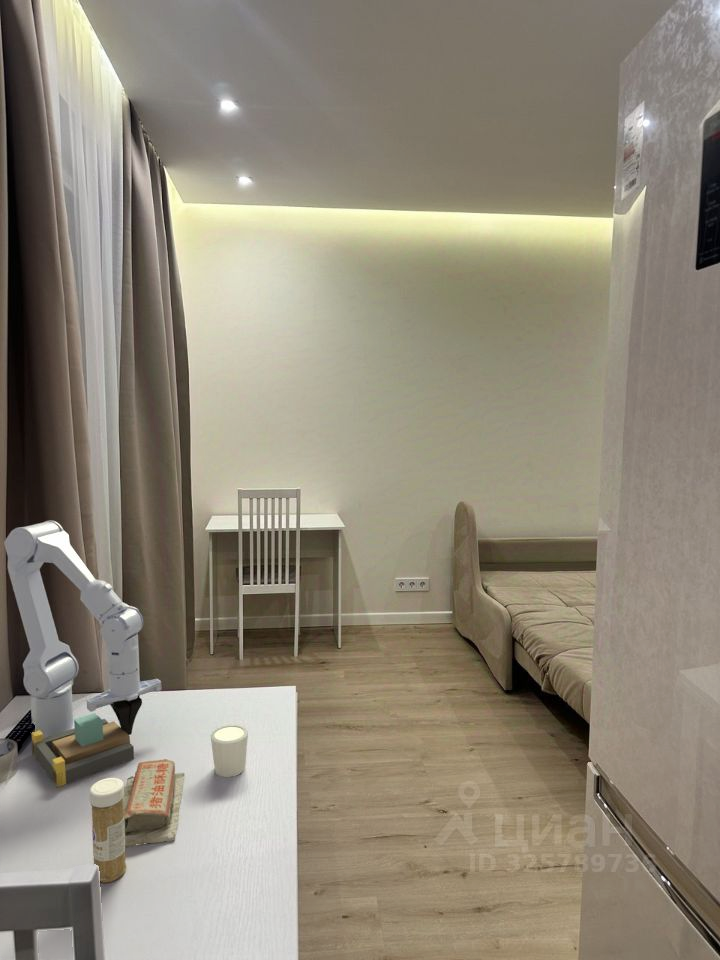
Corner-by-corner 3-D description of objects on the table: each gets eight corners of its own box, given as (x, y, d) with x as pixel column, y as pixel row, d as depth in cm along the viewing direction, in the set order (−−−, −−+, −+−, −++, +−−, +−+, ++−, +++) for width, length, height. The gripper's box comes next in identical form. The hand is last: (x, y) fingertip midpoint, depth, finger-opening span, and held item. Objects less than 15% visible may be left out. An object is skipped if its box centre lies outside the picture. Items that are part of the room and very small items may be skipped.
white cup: (231, 754, 123) (230, 720, 123) (256, 766, 119) (255, 731, 119) (203, 770, 118) (202, 735, 117) (228, 783, 114) (228, 746, 113)
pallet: (53, 756, 123) (52, 741, 122) (114, 735, 131) (113, 721, 130) (66, 773, 117) (65, 758, 117) (130, 750, 125) (129, 735, 125)
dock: (32, 753, 123) (31, 732, 123) (104, 730, 133) (103, 710, 132) (57, 787, 112) (56, 764, 112) (133, 758, 122) (133, 737, 121)
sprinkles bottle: (87, 874, 91) (83, 786, 90) (117, 857, 95) (113, 772, 93) (103, 889, 88) (99, 799, 87) (133, 871, 92) (129, 784, 90)
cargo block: (75, 738, 123) (74, 719, 123) (95, 732, 126) (95, 713, 126) (82, 746, 120) (81, 726, 120) (103, 739, 123) (102, 720, 123)
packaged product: (126, 759, 114) (183, 753, 116) (127, 784, 114) (184, 778, 116) (107, 822, 96) (175, 814, 98) (108, 852, 97) (175, 843, 98)
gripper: (94, 685, 119) (97, 753, 121) (167, 665, 129) (169, 728, 130) (81, 674, 124) (84, 739, 126) (152, 655, 134) (154, 716, 135)
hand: (126, 733), depth 128 cm, fingers closed
